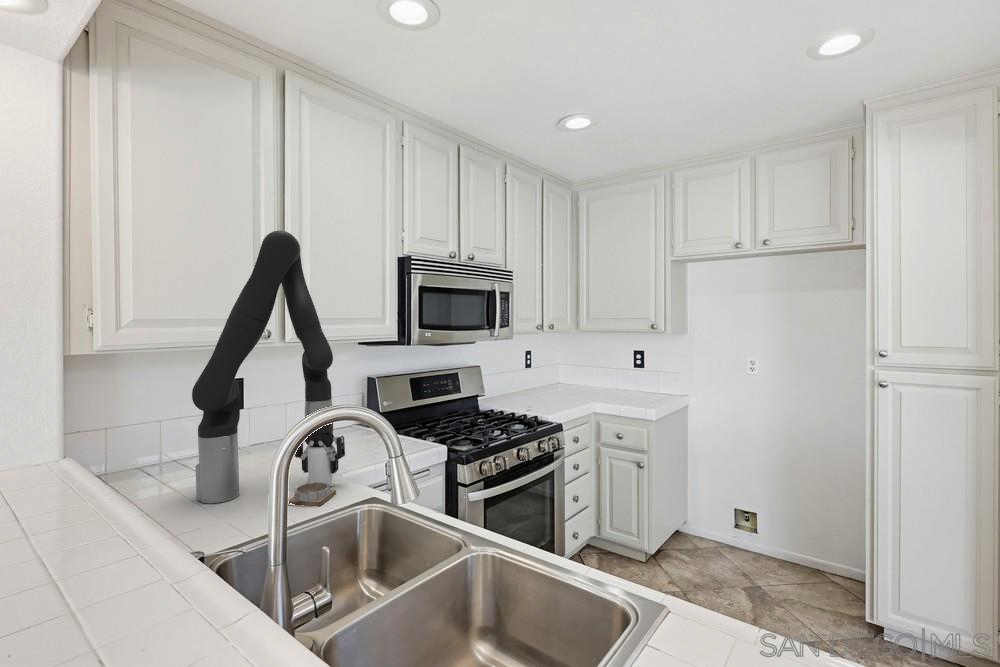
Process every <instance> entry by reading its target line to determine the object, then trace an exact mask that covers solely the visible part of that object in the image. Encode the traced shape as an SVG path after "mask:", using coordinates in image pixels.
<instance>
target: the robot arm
mask: <svg viewBox="0 0 1000 667" xmlns="http://www.w3.org/2000/svg"><path fill="white" fill-rule="evenodd" d="M280 285H281V286H282V289H283V293H284V297H285V298H284V299H285V304H286V307H287V311H288V315H289V318H290V321H291V325H292V327H293V331H294V332H295V335H296V338H297V339H298V340H299V341H300V343H301V345H302V348H303V352H302V356H301V365H302V373H303V378H304V379H303V380H304V383H305V384H304V395H305V396H304V398H305V402H304V418H305V417H306V416H307V415H309V414H311V413H313V412H315V411H317V410H319V409H322V408H325V407H330V406H333V401H332V399H333V398H332V382H331V381H330V379H329V376H328V369H329V368H330V367H331V366H332V364H333V361H334V355H333V351H332V348H331V345H330V343H329V342H328V339H327V337H326V335H325V334H324V331H323V329H322V326H321V322H320V319H319V316H318V313H317V308H316V307H315V305H314V301H313V299H312V297H311V294H310V291H309V288H308V285H307V283H306V279H305V274H304V271H303V266H302V258H301V245H300V243H299V241H298V239H297V238H296V237H295V236H294V235H293V234H292V233H290V232H288V231H285V230H281V229H280V230H273V231H272V232H269V233H268V234H267V235H265V237H264V238H263V240H262V242H261V246H260V249H259V251H258V255H257V258H256V261H255V264H254V267H253V269H252V272H251V275H250V276H249V278H248V279H247V281H246V283H245V285H244V286H243V288H242V290H241V292H240V293H239V294H238V298H237V299H236V301H235V303H234V305H233V306H232V309H231V311H230V312H229V315H228V318H227V319H226V322H225V325H224V326H223V329H222V330H221V334H220V336H219V338H218V340H217V343H216V345H215V348H214V350H213V352H212V354H211V357H210V358H209V360H208V362H207V364H206V365H205V367H204V369H203V370H202V372H201V374H200V375H199V376H198V379H197V380H196V381H195V383H194V385H193V388H192V391H191V400H192V402H193V404H194V406H195V407H196V408H197V409H198V410H199V411H202V412H203V414H202V419H201V421H200V423H199V424H198V427H197V443H198V444H197V445H198V463H196V465H195V488H196V489H195V490H196V491H195V492H196V494H195V495H196V497H195V498H196V501H197V502H198V501H199V502H201V503H202V504H218V503H224V502H228V501H231V500H234V499H236V498H237V497H239V496H240V472H239V471H240V470H239V469H240V466H239V438H238V434H239V432H238V427H239V426H238V425H239V422H240V419H241V418H240V417H241V394H240V393H241V392H240V386H239V382H238V381H237V379H236V376H237V374H238V371H239V369H240V367H241V365H242V364H243V363H244V360H246V358H248V356H249V354H251V352H252V351H253V349H254V348H255V346H257V344H258V342H259V341H260V339H261V338H262V336H263V334H264V332H265V330H266V327H267V325H268V324H269V321H270V319H271V316H272V313H273V310H274V307H275V305H276V299H277V297H278V291H279V288H280V287H281V286H280ZM304 443H306V447H305V449H304ZM333 443H334V444H335V445H336V447H335V446H334V445H333ZM345 444H346V443H345V437H344V436H343V435H341V436H335V435H334V422H333V423H332V424H329V425H326V426H323V427H322V428H320V429H318V430H317V431H315V432H314V433H312V434H311V435H310V436H308V438H307V439H306V440H305V441H304V442H303V443H302V444H301V446H300V447H299V448H298V450H297V452H296V454H295V453H294V458H296V459H297V458H299V459H300V460H301V470H302V471H303V473H304V474H305V473H307V474H308V450H309V448H310V447H325V448H324V450H325V451H326V454H327V455H329V457H330V458H331V460H332V461H331V474H332V475H333V474H336V473H338V472H337V471H339V460H340V459H342V458H343V457H345V456H346V448H345V446H346V445H345ZM309 446H310V447H309ZM329 447H331V450H329Z"/></svg>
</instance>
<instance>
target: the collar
mask: <svg viewBox="0 0 1000 667" xmlns="http://www.w3.org/2000/svg"><path fill="white" fill-rule="evenodd" d="M314 490H321V491H318V492H311V493H304V492H308V491H314ZM330 490H331V487H330V485H329V484H327V483H324V482H314V483H304V484H301V485H299V486H297V487H295V488H294V496H295V499H296V500H298V501H315V500H320V499H323V498H326V497H327V496H328V495H330Z"/></svg>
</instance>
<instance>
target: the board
mask: <svg viewBox="0 0 1000 667" xmlns="http://www.w3.org/2000/svg"><path fill="white" fill-rule="evenodd" d="M318 491H321V490H314V491H308V492H304V493H311V492H318ZM334 495H335V496H336V495H337V489H330V495H328V496H327V497H326V498H323V499H320V500H315V501H298V500H296V499H295V495H294V496H293V497H291V498H290V499H288V500H289V504H290V503H292V504H295V505H304V506H303V507H313V506H318V508H320V507H322V506H323V505H324V504H325V502H326V503H327V502H329V500H331V499H332V498H333V497H335V496H334ZM330 498H331V499H330ZM321 505H322V506H321Z"/></svg>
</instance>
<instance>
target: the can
mask: <svg viewBox="0 0 1000 667" xmlns="http://www.w3.org/2000/svg"><path fill="white" fill-rule="evenodd" d="M309 447H310V446H309ZM324 448H325V447H310V448H309V450H308V472H307V478H308V480H307V482H308V483H314V482H324V483H327V484H329V485H330V488H331V487H332V486H333V484H334V483H333V481H334V480H333V474H331V461H332V460H331V458H330V457H329V455H327V454H326V451H325V450H324ZM329 450H331V447H329ZM308 483H307V484H308Z"/></svg>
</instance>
